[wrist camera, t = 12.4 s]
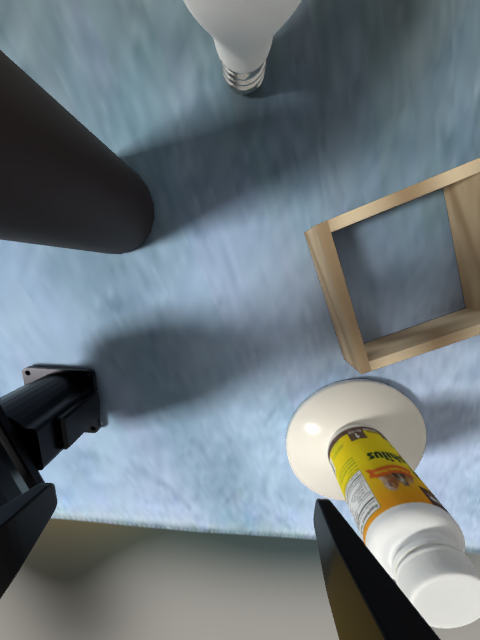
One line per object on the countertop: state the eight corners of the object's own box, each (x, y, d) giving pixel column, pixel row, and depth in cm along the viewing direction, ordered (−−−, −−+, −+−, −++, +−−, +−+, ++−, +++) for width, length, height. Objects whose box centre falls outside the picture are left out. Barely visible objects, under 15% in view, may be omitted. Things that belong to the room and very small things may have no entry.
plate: (280, 489, 23) (281, 497, 23) (291, 375, 21) (293, 379, 20) (404, 496, 23) (410, 504, 22) (433, 382, 20) (441, 386, 20)
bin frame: (344, 359, 20) (361, 374, 17) (304, 232, 18) (316, 225, 15) (476, 313, 19) (519, 320, 16) (451, 172, 17) (495, 151, 14)
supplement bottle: (395, 433, 21) (536, 586, 11) (364, 478, 22) (465, 653, 12) (342, 411, 20) (436, 547, 10) (314, 458, 21) (373, 620, 11)
